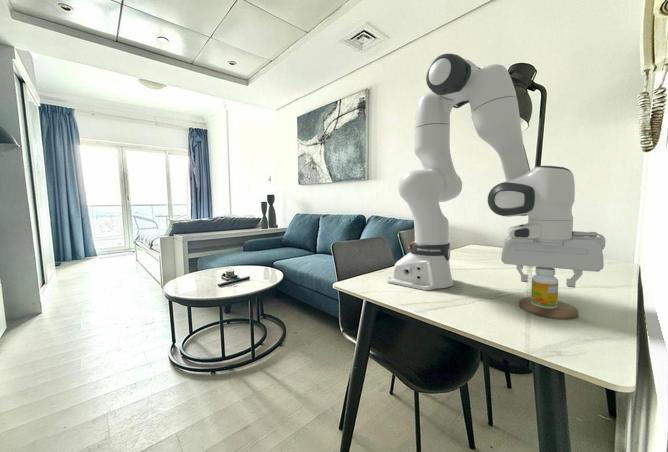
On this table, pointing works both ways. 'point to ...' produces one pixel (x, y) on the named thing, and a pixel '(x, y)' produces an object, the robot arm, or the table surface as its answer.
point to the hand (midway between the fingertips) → (546, 284)
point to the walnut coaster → (550, 310)
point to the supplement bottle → (544, 288)
